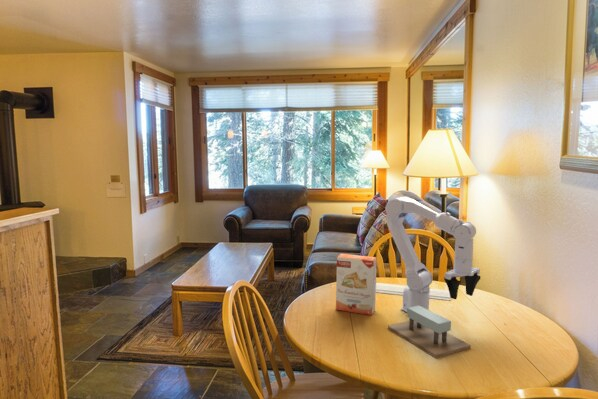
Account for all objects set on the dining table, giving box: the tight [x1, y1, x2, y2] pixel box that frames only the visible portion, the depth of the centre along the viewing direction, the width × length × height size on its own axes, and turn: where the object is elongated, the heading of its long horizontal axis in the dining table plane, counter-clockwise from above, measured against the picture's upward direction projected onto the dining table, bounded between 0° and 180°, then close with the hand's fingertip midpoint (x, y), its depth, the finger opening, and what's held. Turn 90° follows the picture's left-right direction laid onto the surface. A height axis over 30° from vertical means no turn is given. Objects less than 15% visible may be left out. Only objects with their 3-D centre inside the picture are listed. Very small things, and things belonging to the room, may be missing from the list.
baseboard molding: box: [376, 280, 451, 302], centre depth 170 cm, size 31×3×12 cm
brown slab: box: [387, 317, 472, 359], centre depth 128 cm, size 22×14×5 cm, turn 26°
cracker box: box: [335, 253, 378, 316], centre depth 150 cm, size 14×6×21 cm, turn 68°
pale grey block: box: [406, 306, 452, 334], centre depth 128 cm, size 14×5×3 cm, turn 26°
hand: (461, 296), depth 138 cm, fingers open, 7 cm apart
